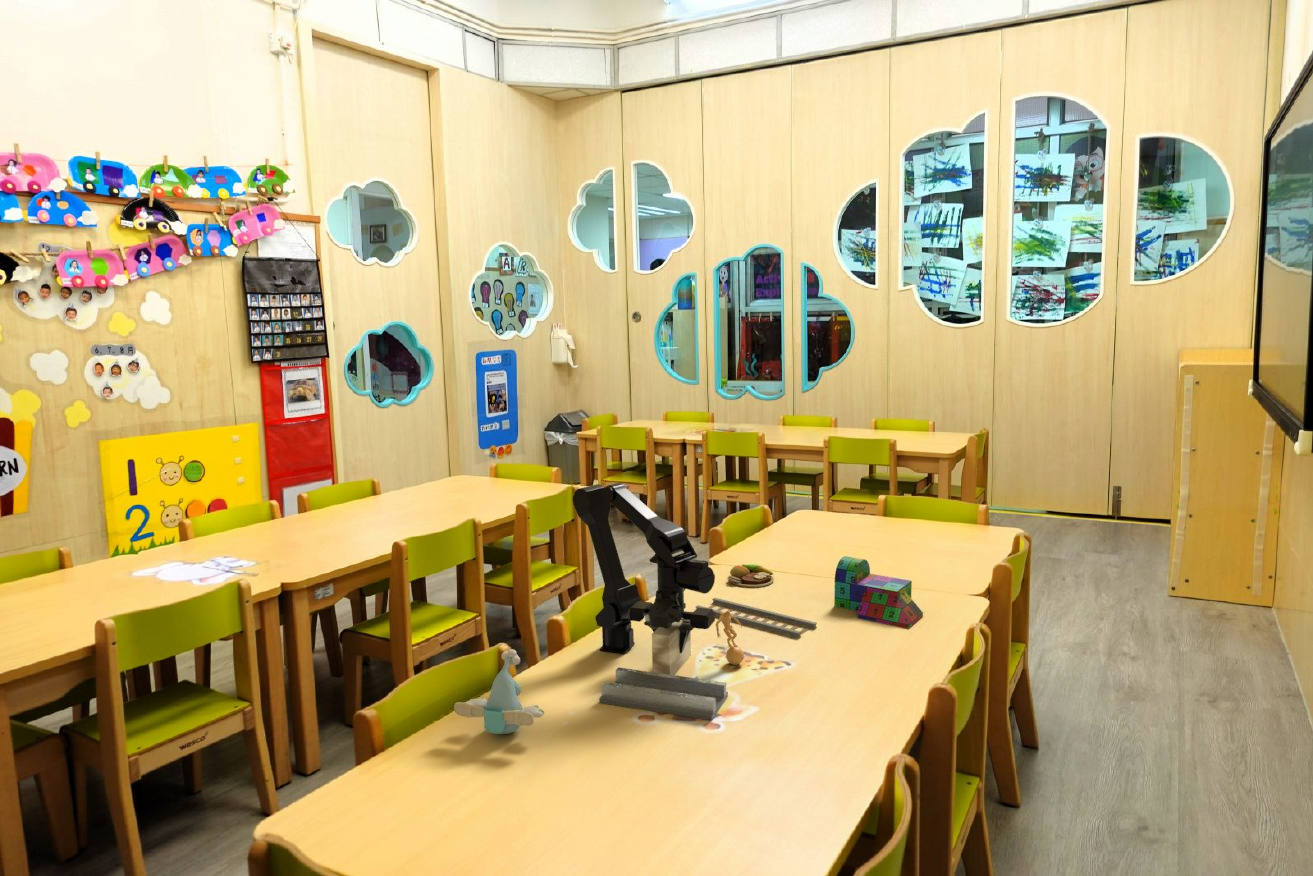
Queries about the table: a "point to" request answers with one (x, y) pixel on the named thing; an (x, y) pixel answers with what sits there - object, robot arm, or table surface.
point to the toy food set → (750, 576)
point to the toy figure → (501, 703)
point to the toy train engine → (874, 594)
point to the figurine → (730, 638)
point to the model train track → (763, 624)
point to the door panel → (669, 649)
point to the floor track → (665, 693)
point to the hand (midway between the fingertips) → (672, 651)
